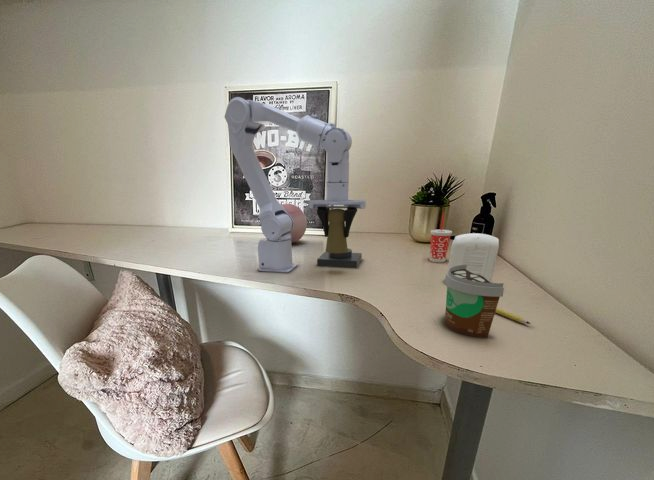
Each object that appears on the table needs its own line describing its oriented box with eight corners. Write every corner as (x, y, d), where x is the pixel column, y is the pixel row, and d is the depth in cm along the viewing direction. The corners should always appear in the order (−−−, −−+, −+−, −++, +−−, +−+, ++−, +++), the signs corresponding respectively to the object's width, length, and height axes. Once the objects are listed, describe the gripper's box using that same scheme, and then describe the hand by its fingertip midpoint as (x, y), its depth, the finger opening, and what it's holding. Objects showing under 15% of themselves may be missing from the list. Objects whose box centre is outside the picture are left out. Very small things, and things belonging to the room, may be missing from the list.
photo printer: (489, 282, 83) (499, 232, 78) (492, 288, 80) (503, 236, 75) (445, 279, 86) (452, 231, 81) (446, 285, 82) (453, 234, 77)
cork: (346, 253, 88) (347, 210, 84) (323, 252, 90) (323, 210, 85) (348, 248, 94) (349, 207, 89) (327, 247, 95) (327, 207, 90)
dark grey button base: (317, 266, 101) (317, 253, 99) (325, 258, 110) (325, 245, 108) (356, 268, 98) (357, 254, 96) (361, 259, 106) (362, 247, 105)
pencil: (528, 326, 60) (529, 321, 60) (466, 301, 72) (467, 297, 72) (532, 325, 61) (533, 320, 60) (469, 300, 72) (470, 296, 72)
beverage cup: (426, 262, 102) (432, 214, 96) (427, 257, 107) (433, 212, 102) (447, 263, 100) (454, 215, 94) (448, 258, 105) (455, 212, 100)
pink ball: (314, 243, 131) (314, 203, 125) (281, 249, 123) (279, 206, 117) (294, 238, 142) (292, 201, 136) (262, 242, 134) (259, 203, 128)
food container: (427, 313, 67) (433, 265, 63) (456, 312, 67) (465, 263, 63) (457, 342, 56) (467, 286, 52) (492, 340, 56) (505, 284, 52)
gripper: (305, 183, 83) (306, 238, 88) (363, 182, 79) (361, 240, 85) (313, 182, 89) (313, 233, 95) (367, 181, 85) (365, 235, 91)
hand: (336, 236), depth 90 cm, fingers closed on cork, 5 cm apart
